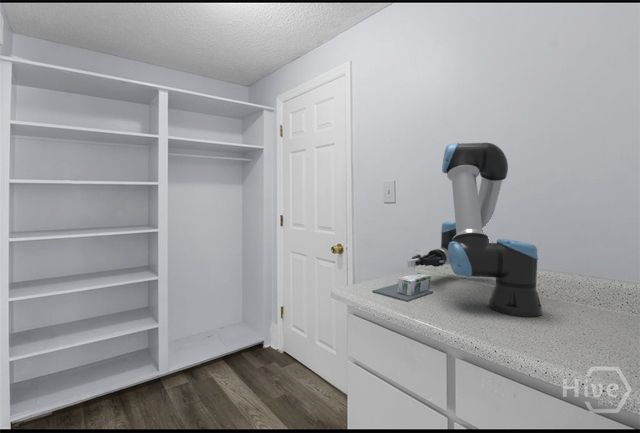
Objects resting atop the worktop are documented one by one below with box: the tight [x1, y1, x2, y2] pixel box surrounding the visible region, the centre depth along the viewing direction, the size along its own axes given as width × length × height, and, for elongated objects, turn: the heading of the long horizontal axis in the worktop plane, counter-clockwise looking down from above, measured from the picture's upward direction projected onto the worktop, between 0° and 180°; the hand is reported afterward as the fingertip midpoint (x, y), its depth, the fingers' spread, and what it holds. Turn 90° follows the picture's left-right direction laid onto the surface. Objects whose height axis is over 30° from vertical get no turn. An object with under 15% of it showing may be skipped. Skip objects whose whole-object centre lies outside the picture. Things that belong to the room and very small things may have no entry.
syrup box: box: [397, 272, 432, 296], centre depth 127 cm, size 6×6×14 cm
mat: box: [372, 283, 434, 303], centre depth 128 cm, size 18×16×1 cm
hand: (409, 263), depth 130 cm, fingers closed
